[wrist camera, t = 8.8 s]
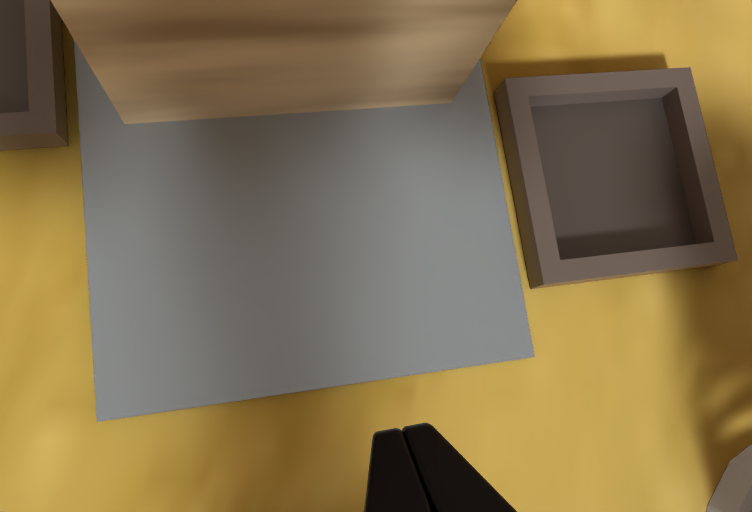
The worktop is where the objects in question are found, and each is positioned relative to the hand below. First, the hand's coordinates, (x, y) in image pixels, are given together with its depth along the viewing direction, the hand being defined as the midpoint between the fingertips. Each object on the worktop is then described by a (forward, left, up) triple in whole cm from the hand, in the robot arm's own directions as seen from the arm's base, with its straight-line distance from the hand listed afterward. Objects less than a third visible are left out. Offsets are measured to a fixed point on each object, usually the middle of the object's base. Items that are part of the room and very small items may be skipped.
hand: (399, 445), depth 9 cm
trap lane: (+9, -9, -13) cm, 18 cm away
